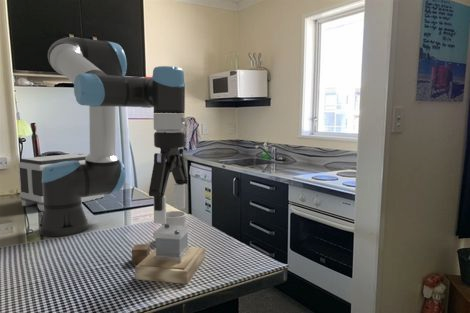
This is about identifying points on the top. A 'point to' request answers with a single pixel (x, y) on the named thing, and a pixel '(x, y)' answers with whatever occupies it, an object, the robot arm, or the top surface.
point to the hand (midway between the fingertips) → (170, 215)
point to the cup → (175, 218)
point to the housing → (171, 243)
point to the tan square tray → (170, 267)
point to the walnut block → (140, 252)
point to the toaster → (33, 177)
